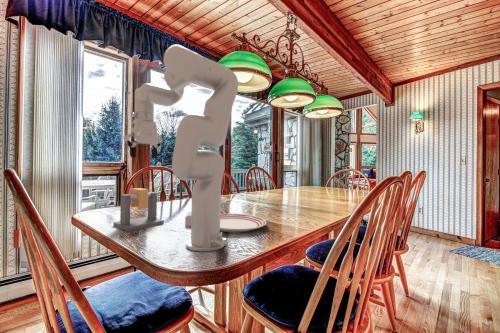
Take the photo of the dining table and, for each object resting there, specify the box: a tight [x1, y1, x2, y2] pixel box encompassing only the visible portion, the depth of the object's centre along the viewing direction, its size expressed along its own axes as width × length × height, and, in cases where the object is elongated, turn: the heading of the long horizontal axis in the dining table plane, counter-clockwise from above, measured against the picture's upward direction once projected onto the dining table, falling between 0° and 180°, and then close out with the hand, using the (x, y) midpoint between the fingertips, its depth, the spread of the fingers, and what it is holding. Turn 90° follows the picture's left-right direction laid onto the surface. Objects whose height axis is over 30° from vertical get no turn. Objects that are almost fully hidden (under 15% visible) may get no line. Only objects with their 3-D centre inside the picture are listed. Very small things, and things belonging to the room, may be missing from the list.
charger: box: [184, 211, 192, 227], centre depth 115 cm, size 5×9×15 cm
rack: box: [113, 191, 165, 232], centre depth 108 cm, size 12×16×14 cm
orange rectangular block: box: [130, 187, 149, 210], centre depth 108 cm, size 7×4×8 cm, turn 53°
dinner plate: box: [220, 213, 267, 233], centre depth 109 cm, size 28×27×3 cm
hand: (144, 157), depth 108 cm, fingers open, 9 cm apart
